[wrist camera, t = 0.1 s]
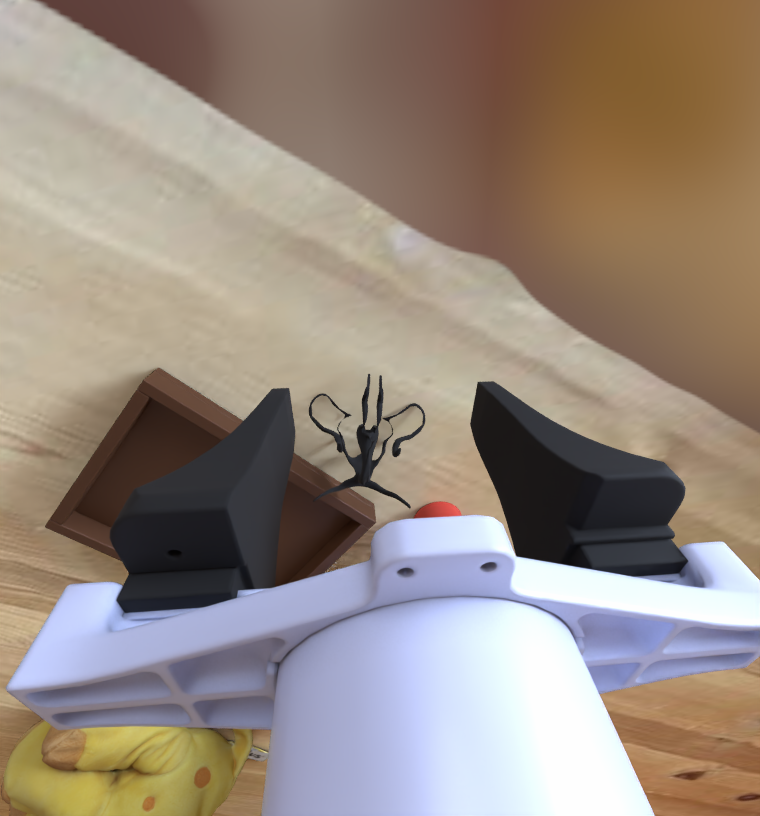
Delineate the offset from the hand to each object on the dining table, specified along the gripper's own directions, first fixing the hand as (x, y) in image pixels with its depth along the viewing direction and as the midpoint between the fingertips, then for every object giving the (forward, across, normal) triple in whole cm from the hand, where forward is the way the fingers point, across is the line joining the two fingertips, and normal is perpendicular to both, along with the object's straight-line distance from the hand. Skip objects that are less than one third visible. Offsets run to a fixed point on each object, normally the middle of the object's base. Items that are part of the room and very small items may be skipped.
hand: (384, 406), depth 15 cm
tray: (+8, +11, +14) cm, 20 cm away
